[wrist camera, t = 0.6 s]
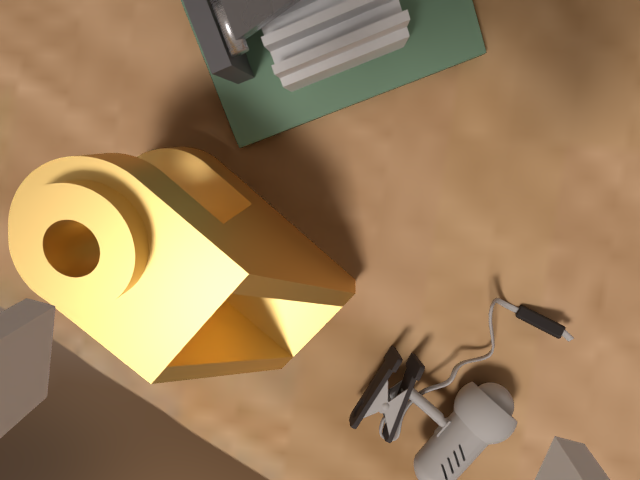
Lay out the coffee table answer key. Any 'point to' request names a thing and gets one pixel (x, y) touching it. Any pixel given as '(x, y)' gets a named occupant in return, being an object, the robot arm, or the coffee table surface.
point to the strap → (246, 19)
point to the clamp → (172, 263)
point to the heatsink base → (330, 57)
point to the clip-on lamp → (469, 407)
